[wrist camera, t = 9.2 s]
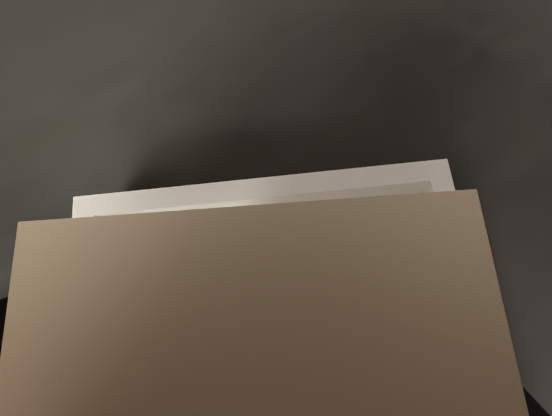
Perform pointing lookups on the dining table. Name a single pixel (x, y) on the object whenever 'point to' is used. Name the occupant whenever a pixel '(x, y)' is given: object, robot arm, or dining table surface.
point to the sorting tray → (275, 189)
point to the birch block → (261, 313)
